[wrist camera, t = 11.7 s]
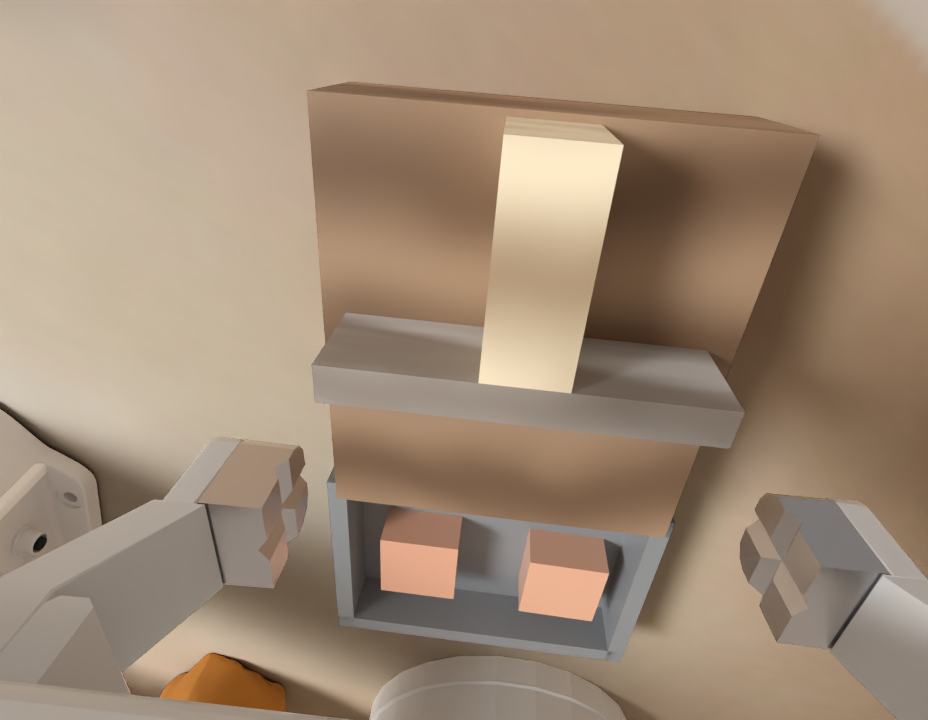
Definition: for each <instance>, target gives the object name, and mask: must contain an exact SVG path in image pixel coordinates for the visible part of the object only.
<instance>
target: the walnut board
mask: <svg viewBox="0 0 928 720" xmlns="http://www.w3.org/2000/svg"><path fill="white" fill-rule="evenodd" d="M307 98H308V112H309V126H310V139H311V153H312V167H313V180H314V194H315V208H316V222H317V235H318V249H319V263H320V276H321V290H322V304H323V318H324V331H325V344H326V342H327V341H328V339H329V338H330V336H331V335H332V333H333V332H334V330H335V329H336V327H337V326H338V324H339V323H340V321H341V320H342V318H343V317H344V315H345V314H346V313H354V314H364V315H373V316H383V317H392V318H402V319H411V320H421V321H430V322H440V323H449V324H459V325H468V326H478V327H484V323H485V313H486V303H487V293H488V283H489V273H490V263H491V253H492V243H493V233H494V224H495V214H496V204H497V194H498V184H499V174H500V164H501V154H502V144H503V134H504V129H505V124H506V119H507V117H518V118H530V119H541V120H552V121H564V122H575V123H587V124H598V125H603V126H604V127H605V128H606V129H607V130H608V131H609V132H610V133H612V134H613V135H614V136H615V137H616V138H617V139H618V140H619V141H620V142H621V143H622V144H623V145H624V146H623V151H622V156H621V160H620V165H619V170H618V174H617V179H616V184H615V189H614V193H613V198H612V203H611V208H610V212H609V217H608V222H607V227H606V231H605V236H604V241H603V246H602V250H601V255H600V260H599V264H598V269H597V274H596V279H595V283H594V288H593V293H592V298H591V302H590V307H589V312H588V317H587V321H586V326H585V331H584V336H583V338H592V339H602V340H611V341H621V342H630V343H640V344H649V345H659V346H668V347H678V348H688V349H697V350H707V351H708V353H709V354H710V356H711V358H712V359H713V361H714V363H715V364H716V366H717V367H718V369H719V371H720V372H721V374H722V376H723V377H724V379H725V380H726V377H727V375H728V372H729V370H730V367H731V365H732V362H733V359H734V357H735V354H736V352H737V349H738V346H739V344H740V341H741V339H742V336H743V333H744V331H745V328H746V326H747V323H748V321H749V318H750V315H751V313H752V310H753V308H754V305H755V302H756V300H757V297H758V295H759V292H760V289H761V287H762V284H763V282H764V279H765V277H766V274H767V271H768V269H769V266H770V264H771V261H772V258H773V256H774V253H775V251H776V248H777V245H778V243H779V240H780V238H781V235H782V233H783V230H784V227H785V225H786V222H787V220H788V217H789V214H790V212H791V209H792V207H793V204H794V201H795V199H796V196H797V194H798V191H799V188H800V186H801V183H802V181H803V178H804V176H805V173H806V170H807V168H808V165H809V163H810V160H811V157H812V155H813V152H814V150H815V147H816V144H817V142H818V139H819V137H820V135H817V134H814V133H811V132H807V131H804V130H800V129H797V128H794V127H790V126H787V125H783V124H780V123H776V122H773V121H770V120H766V119H763V118H759V117H752V116H741V115H729V114H718V113H706V112H694V111H683V110H671V109H660V108H648V107H636V106H625V105H613V104H602V103H590V102H578V101H567V100H555V99H543V98H532V97H520V96H509V95H497V94H485V93H474V92H462V91H451V90H439V89H427V88H416V87H404V86H393V85H381V84H369V83H358V82H347V83H342V84H337V85H332V86H327V87H322V88H317V89H312V90H307ZM330 413H331V427H332V441H333V455H334V468H335V482H336V496H337V499H346V500H354V501H362V502H370V503H379V504H387V505H395V506H404V507H412V508H420V509H429V510H437V511H445V512H453V513H462V514H470V515H478V516H487V517H495V518H503V519H512V520H520V521H528V522H536V523H545V524H553V525H561V526H570V527H578V528H586V529H595V530H603V531H611V532H619V533H628V534H636V535H644V536H653V537H661V538H665V535H666V533H667V530H668V528H669V525H670V522H671V520H672V517H673V515H674V512H675V510H676V507H677V504H678V502H679V499H680V497H681V494H682V491H683V489H684V486H685V484H686V481H687V478H688V476H689V473H690V471H691V468H692V466H693V463H694V460H695V458H696V455H697V453H698V450H699V447H700V446H699V445H690V444H681V443H672V442H664V441H655V440H646V439H637V438H628V437H619V436H610V435H601V434H592V433H584V432H575V431H566V430H557V429H548V428H539V427H530V426H521V425H513V424H504V423H495V422H486V421H477V420H468V419H459V418H450V417H442V416H433V415H424V414H415V413H406V412H397V411H388V410H379V409H371V408H362V407H353V406H344V405H335V404H330Z"/></svg>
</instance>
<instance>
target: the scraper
mask: <svg viewBox="0 0 928 720" xmlns="http://www.w3.org/2000/svg"><path fill="white" fill-rule="evenodd" d="M623 146H624V145H623V144H622V143H621V142H620V141H619V140H618V139H617V138H616V137H615V136H614V135H613V134H612V133H610V132H609V131H608V130H607V129H606V128H605V127H604V126H603V125H598V124H587V123H575V122H564V121H552V120H541V119H530V118H518V117H507V119H506V124H505V129H504V134H503V144H502V154H501V164H500V174H499V184H498V194H497V204H496V214H495V224H494V233H493V243H492V253H491V263H490V273H489V283H488V293H487V303H486V313H485V323H484V327H478V326H468V325H459V324H449V323H440V322H430V321H421V320H411V319H402V318H392V317H383V316H373V315H364V314H354V313H346V314H345V315H344V317H343V318H342V320H341V321H340V323H339V324H338V326H337V327H336V329H335V330H334V332H333V333H332V335H331V336H330V338H329V339H328V341H327V342H326V344H325V345H324V347H323V348H322V350H321V352H320V353H319V355H318V356H317V358H316V359H315V361H314V362H313V364H312V374H313V385H314V396H315V402H317V403H326V404H335V405H344V406H353V407H362V408H371V409H379V410H388V411H397V412H406V413H415V414H424V415H433V416H442V417H450V418H459V419H468V420H477V421H486V422H495V423H504V424H513V425H521V426H530V427H539V428H548V429H557V430H566V431H575V432H584V433H592V434H601V435H610V436H619V437H628V438H637V439H646V440H655V441H664V442H672V443H681V444H690V445H699V446H708V447H717V448H726V449H730V447H731V445H732V443H733V440H734V438H735V436H736V433H737V431H738V428H739V426H740V424H741V421H742V419H743V417H744V414H745V411H744V410H743V408H742V406H741V405H740V403H739V401H738V400H737V398H736V397H735V395H734V393H733V392H732V390H731V388H730V387H729V385H728V384H727V382H726V380H725V379H724V377H723V376H722V374H721V372H720V371H719V369H718V367H717V366H716V364H715V363H714V361H713V359H712V358H711V356H710V354H709V353H708V351H707V350H697V349H688V348H678V347H668V346H659V345H649V344H640V343H630V342H621V341H611V340H602V339H592V338H583V336H584V331H585V326H586V321H587V317H588V312H589V307H590V302H591V298H592V293H593V288H594V283H595V279H596V274H597V269H598V264H599V260H600V255H601V250H602V246H603V241H604V236H605V231H606V227H607V222H608V217H609V212H610V208H611V203H612V198H613V193H614V189H615V184H616V179H617V174H618V170H619V165H620V160H621V156H622V151H623Z"/></svg>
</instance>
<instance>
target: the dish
mask: <svg viewBox="0 0 928 720" xmlns="http://www.w3.org/2000/svg"><path fill="white" fill-rule="evenodd" d="M370 720H627V719H626V718H625V716H624V714H623V712H622V710H621V708H620V707H619V705H618V704H617V703H616V702H615V701H614V700H613V699H612V698H611V697H609V696H608V695H607V694H606V693H605V692H604V691H603V690H601V689H600V688H599V687H598V686H596V685H594V684H592V683H590V682H588V681H586V680H584V679H583V678H581V677H579V676H577V675H575V674H573V673H571V672H569V671H565V670H562V669H559V668H556V667H553V666H550V665H546V664H543V663H540V662H537V661H531V660H524V659H517V658H510V657H503V656H457V657H451V658H446V659H440V660H434V661H428V662H425V663H423V664H420V665H418V666H415V667H413V668H410V669H408V670H405V671H403V672H400V673H399V674H398V675H397V676H395V677H394V678H393V679H391V680H390V681H389V682H387V683H386V684H385V685H384V686H382V688H381V690H380V692H379V693H378V695H377V697H376V699H375V700H374V702H373V706H372V711H371V715H370Z"/></svg>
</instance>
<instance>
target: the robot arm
mask: <svg viewBox="0 0 928 720" xmlns="http://www.w3.org/2000/svg"><path fill="white" fill-rule="evenodd" d="M304 465H305V461H304V453H303V449H302V448H301V447H299V446H294V445H286V444H278V443H270V442H261V441H253V440H241V439H233V438H225V437H216V438H214V439H212V440H210V441H209V442H208V444H207V445H206V446H205V447H204V449H203V450H202V451H201V452H200V454H199V455H198V456H197V458H196V459H195V460H194V461H193V463H192V464H191V465H190V466H189V468H188V469H187V470H186V471H185V473H184V474H183V475H182V476H181V478H180V479H179V480H178V481H177V483H176V484H175V485H174V487H173V488H172V489H171V490H170V492H169V493H168V494H167V495H166V497H165V498H164V499H163V500H156V499H154V500H152V501H150V502H148V503H146V504H144V505H142V506H140V507H138V508H136V509H134V510H132V511H130V512H128V513H126V514H124V515H122V516H120V517H118V518H116V519H114V520H112V521H110V522H108V523H106V524H104V525H102V520H101V512H100V505H99V497H98V490H97V483H96V479H95V477H94V475H93V474H92V473H91V472H90V471H89V470H88V469H87V468H85V467H84V466H82V465H81V464H79V463H78V462H76V461H74V460H72V459H70V458H69V457H67V456H65V455H63V454H61V453H59V452H57V451H55V450H53V449H51V448H49V447H48V446H46V445H45V444H43V443H42V442H41V441H40V440H38V439H37V438H36V437H35V436H33V435H32V434H31V433H30V432H29V431H28V430H26V429H25V428H24V427H23V426H22V425H21V424H19V423H18V422H17V421H16V420H14V419H13V418H12V417H11V416H9V415H8V414H6V413H5V412H4V411H2V410H1V409H0V720H352V719H343V718H334V717H326V716H317V715H308V714H299V713H290V712H281V711H273V710H264V709H255V708H246V707H237V706H228V705H220V704H211V703H202V702H193V701H184V700H175V699H166V698H158V697H149V696H140V695H131V692H130V690H129V688H128V686H127V683H126V681H125V679H124V676H123V674H122V672H123V671H124V670H125V669H127V668H128V667H129V666H130V665H131V664H133V663H134V662H135V661H136V660H137V659H139V658H140V657H141V656H142V655H143V654H145V653H146V652H147V651H148V650H149V649H151V648H152V647H153V646H154V645H155V644H157V643H158V642H159V641H160V640H161V639H163V638H164V637H165V636H166V635H167V634H169V633H170V632H171V631H172V630H173V629H175V628H176V627H177V626H178V625H179V624H181V623H182V622H183V621H184V620H185V619H187V618H188V617H189V616H190V615H191V614H193V613H194V612H195V611H196V610H197V609H199V608H200V607H201V606H202V605H203V604H205V603H206V602H207V601H208V600H209V599H211V598H212V597H213V596H214V595H215V594H216V593H218V592H219V591H220V590H221V589H222V588H223V585H235V586H248V587H260V588H273V589H274V588H275V585H276V583H277V581H278V579H279V577H280V574H281V572H282V570H283V568H284V565H285V563H286V561H287V559H288V556H289V555H288V546H287V543H288V542H289V541H291V540H292V539H293V538H295V537H296V536H298V534H299V531H300V529H301V527H302V524H303V521H304V517H305V513H306V508H307V498H308V491H307V483H306V482H305V481H304V479H303V478H302V477H301V476H300V473H301V471H302V469H303V467H304ZM755 512H756V514H757V516H758V518H759V520H758V521H756V522H755V523H753V524H752V525H750V526H748V527H747V528H746V529H745V532H744V534H743V537H742V539H741V542H740V560H741V565H742V569H743V572H744V574H745V576H746V578H747V581H748V583H749V584H751V585H752V586H753V587H754V588H755V589H756V590H758V591H759V592H760V593H761V594H762V595H763V596H762V599H761V602H760V605H759V606H760V608H761V610H762V613H763V615H764V617H765V619H766V621H767V623H768V625H769V627H770V629H771V631H772V634H773V636H774V638H775V640H776V642H777V643H784V644H792V645H799V646H807V647H814V648H821V649H829V650H831V651H830V653H831V654H832V655H833V656H834V657H835V658H836V659H837V660H838V661H839V662H840V663H841V664H842V665H843V666H844V667H845V668H846V669H847V670H848V671H849V672H850V673H851V674H852V675H853V676H854V677H855V678H856V679H857V680H858V681H859V682H860V683H861V684H862V685H863V686H864V687H865V688H866V689H867V690H868V691H869V692H870V693H871V694H872V695H873V696H874V697H875V698H876V699H877V700H878V701H879V702H880V703H881V704H882V705H883V706H884V707H885V708H886V709H887V710H888V711H889V712H890V713H891V714H892V715H893V716H894V717H895V718H896V719H897V720H928V579H926V577H925V576H924V575H923V574H922V573H921V571H920V570H919V569H918V568H917V567H916V565H915V564H914V563H913V562H912V561H911V559H910V558H909V557H908V556H907V554H906V553H905V552H904V551H903V550H902V548H901V547H900V546H899V545H898V544H897V542H896V541H895V540H894V539H893V537H892V536H891V535H890V534H889V533H888V531H887V530H886V529H885V528H884V527H883V525H882V524H881V523H880V522H879V521H878V519H877V518H876V517H875V516H874V514H873V513H872V512H871V511H870V510H869V508H868V507H867V506H865V505H864V504H862V503H860V502H859V501H856V500H844V499H831V498H826V499H823V498H813V497H803V496H792V495H781V494H771V493H766V494H765V495H764V496H763V497H762V498H760V500H759V502H758V504H757V506H756V508H755Z"/></svg>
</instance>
